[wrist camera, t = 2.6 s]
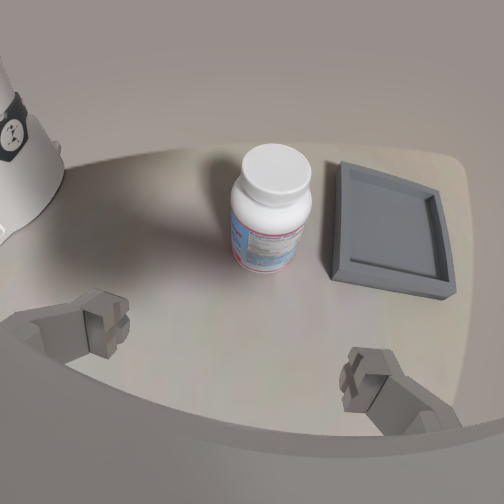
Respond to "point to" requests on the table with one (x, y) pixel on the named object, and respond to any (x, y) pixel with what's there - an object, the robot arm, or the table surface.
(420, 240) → the tray
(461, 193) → the table surface
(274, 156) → the pill bottle
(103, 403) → the robot arm
